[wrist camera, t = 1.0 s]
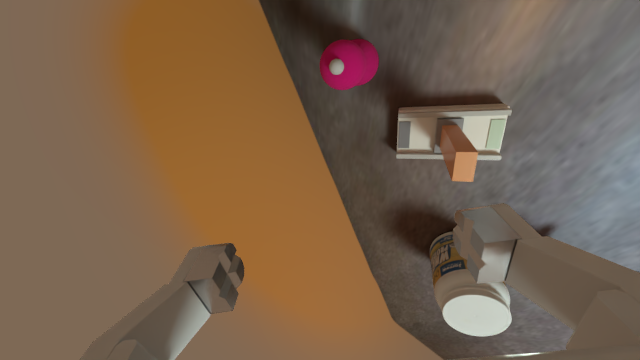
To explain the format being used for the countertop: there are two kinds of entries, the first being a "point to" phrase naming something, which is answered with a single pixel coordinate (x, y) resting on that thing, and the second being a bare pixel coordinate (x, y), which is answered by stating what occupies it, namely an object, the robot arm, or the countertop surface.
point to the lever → (455, 149)
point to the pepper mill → (348, 63)
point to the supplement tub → (466, 293)
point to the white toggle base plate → (479, 127)
